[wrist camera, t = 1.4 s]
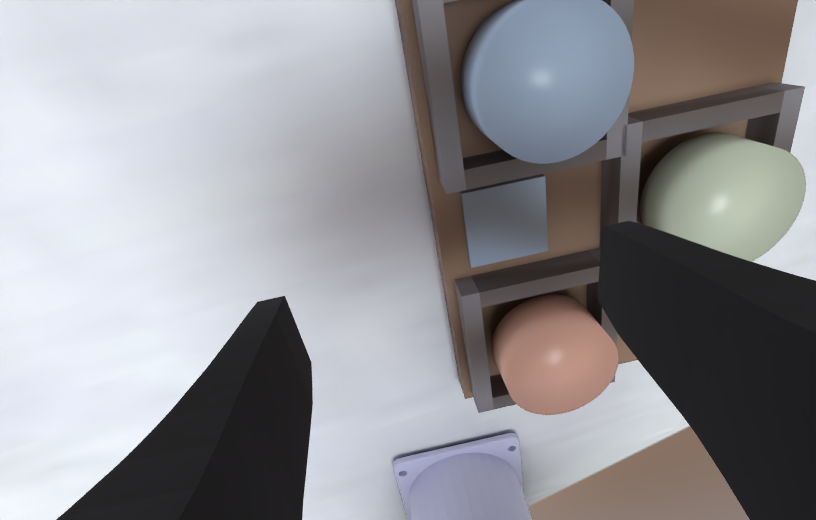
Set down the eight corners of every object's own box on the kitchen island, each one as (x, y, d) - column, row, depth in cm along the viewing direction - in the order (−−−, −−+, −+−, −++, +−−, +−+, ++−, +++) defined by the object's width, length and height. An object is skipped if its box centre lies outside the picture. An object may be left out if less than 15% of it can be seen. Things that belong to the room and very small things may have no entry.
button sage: (743, 232, 21) (789, 256, 18) (636, 255, 20) (670, 282, 18) (765, 120, 18) (820, 133, 16) (644, 146, 18) (683, 162, 16)
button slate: (595, 131, 18) (630, 146, 15) (469, 158, 17) (486, 177, 15) (598, -19, 15) (639, -25, 13) (451, 12, 15) (468, 10, 13)
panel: (710, 323, 26) (751, 356, 24) (459, 379, 26) (471, 419, 24) (784, -105, 17) (864, -128, 14) (391, -25, 17) (399, -33, 14)
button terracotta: (591, 366, 23) (616, 400, 21) (496, 388, 23) (511, 424, 21) (592, 284, 21) (620, 313, 19) (486, 307, 21) (502, 340, 19)
